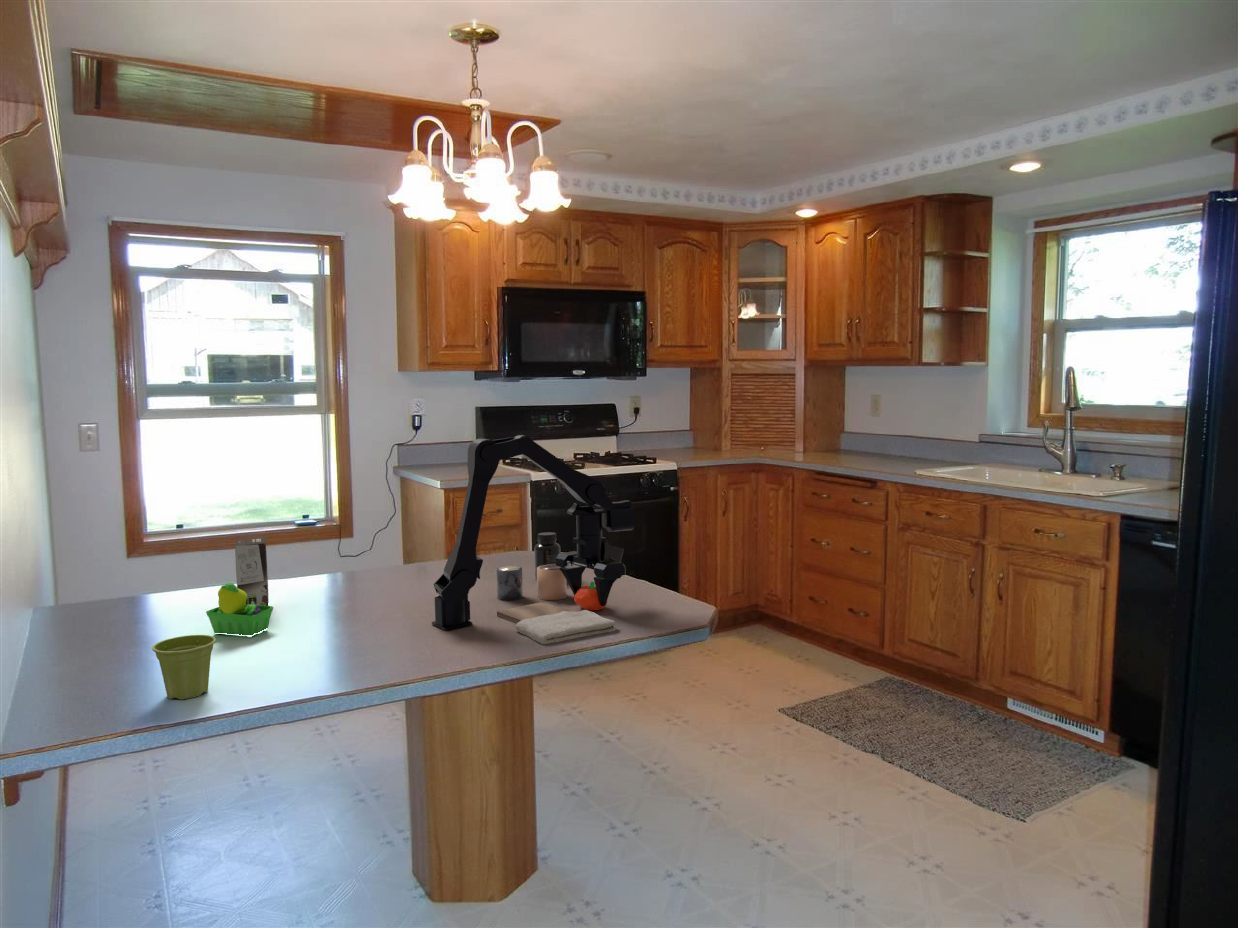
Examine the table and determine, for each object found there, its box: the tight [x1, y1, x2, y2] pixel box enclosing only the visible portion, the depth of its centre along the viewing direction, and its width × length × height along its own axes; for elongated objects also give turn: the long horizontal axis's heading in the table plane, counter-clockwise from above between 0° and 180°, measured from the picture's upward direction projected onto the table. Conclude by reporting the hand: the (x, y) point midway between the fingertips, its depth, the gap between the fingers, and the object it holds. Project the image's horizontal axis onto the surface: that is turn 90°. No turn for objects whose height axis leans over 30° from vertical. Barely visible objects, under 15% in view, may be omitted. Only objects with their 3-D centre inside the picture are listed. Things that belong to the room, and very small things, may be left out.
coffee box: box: [234, 537, 269, 606], centre depth 194 cm, size 9×6×16 cm
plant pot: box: [151, 634, 216, 700], centre depth 142 cm, size 9×9×9 cm
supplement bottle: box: [533, 531, 561, 581], centre depth 223 cm, size 7×7×12 cm
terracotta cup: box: [536, 565, 568, 601], centre depth 205 cm, size 7×7×7 cm
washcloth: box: [514, 609, 616, 645], centre depth 176 cm, size 12×18×3 cm, turn 124°
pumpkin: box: [573, 581, 608, 611], centre depth 193 cm, size 7×8×6 cm
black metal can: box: [496, 565, 524, 602], centre depth 204 cm, size 6×6×7 cm
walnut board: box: [496, 601, 572, 624], centre depth 187 cm, size 12×12×1 cm
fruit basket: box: [205, 582, 275, 635], centre depth 176 cm, size 11×9×11 cm
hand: (590, 601), depth 193 cm, fingers open, 9 cm apart
